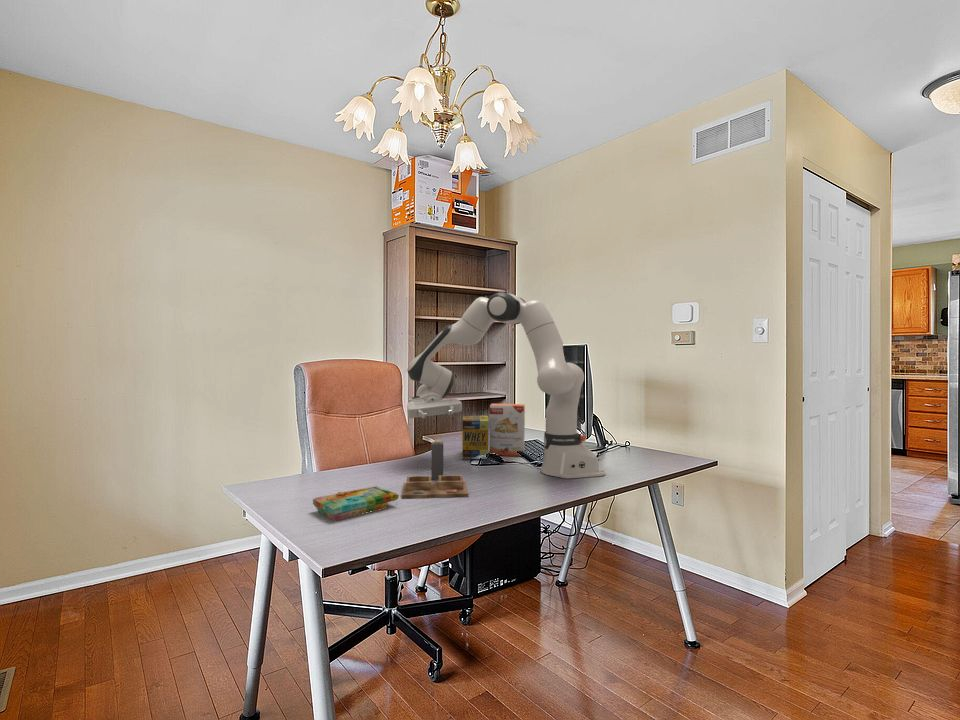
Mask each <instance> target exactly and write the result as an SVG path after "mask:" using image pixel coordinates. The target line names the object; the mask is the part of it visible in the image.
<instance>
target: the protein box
mask: <svg viewBox="0 0 960 720" xmlns="http://www.w3.org/2000/svg"><path fill="white" fill-rule="evenodd" d="M461 432H462V433H461V435H462V439H461V440H462V441H461V442H462V448H461V449H462V454H461V456H462V458H461V459H462V460H465V459H472V458H474V457H476V456H478V455H482V454H488V455H489V440H490V420H489V416H488V415H472V414H471V415H463V416H462V431H461Z"/></svg>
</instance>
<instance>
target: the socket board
mask: <svg viewBox="0 0 960 720" xmlns="http://www.w3.org/2000/svg"><path fill="white" fill-rule="evenodd" d="M469 493H470V492H469V490H468V487H467V483H466V481H465V480H464V478H463V475H462V474H454V475H453V474H452V475H447V474H446V475H444V474H443V475H442V476H439V479H438V481H432V477H431V475H409V476H408V475H407V476H406V481H405V482H403V485H402V490H401V496H400V497H401V498H402V499H430V498H429V497H442V498H468V497H469ZM401 498H400V499H401Z"/></svg>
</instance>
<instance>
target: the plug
mask: <svg viewBox="0 0 960 720" xmlns="http://www.w3.org/2000/svg"><path fill="white" fill-rule="evenodd" d="M430 446H431V458H430V459H431V475H430V476H432V477H431V480H439V476H442V475H444V441H441V440H439V439H435V440H434V441H431V445H430Z"/></svg>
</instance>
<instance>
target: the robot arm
mask: <svg viewBox="0 0 960 720" xmlns="http://www.w3.org/2000/svg"><path fill="white" fill-rule="evenodd" d="M495 322H498V323H499V322H500V323H503V324H505V325H520V324H521V326H522V327H523V330H524V332H525V335H526V338H527V339H528V342H529V345H530V348H531V349H532V352H533V355H534V360H535V363H536V368H537V377H536V384H537V387H538V388H539V389H540V390H541V392H543V393H544V394H547V395H550V398H549V401H548V405H547V407H546V409H545V431H544V433H543V434H544V436H543V446H544V447H543V448H544V451H543V452H544V453H543V460H542V461H543V462H542V465H541V468H540V472H541V474H545V475H547V476H552V477H558V478H562V479H579V478H591V477H593V478H594V477H603V476H606V470H605V469H604V468H602V467H601V466H599V460H598V457H597V454H595V453H594V452H593V451H592V450H591V449H590V448H588V447H587V446H586V445H584V444H583V442H586V441H587V437H586V436H585V435H583V434H580V433H579V432H578V430H577V429H578V407H579V403H580V399H581V398H580V397H581V396H580V395H581V392H582V391H581V390H582V386H583V383H584V382H585V373H584V371H583V369H582V368H581V367H580V366H578V365H577V364H575V363H572V362H567V361H566V357H565V355H564V342H563V341H564V340H562V337H561V335H560V333H559V330H558V327H557V325H556V323H555V321H554V318H553V316H552V315H551V313H550V311H549V310H548V308H547V306H546V305H545V304H544V303H543V302H542V300H539V299H531V300H529V301H525V299H523V298H522V297H519V296H517V295H515V294H512V293H509V292H504V291H501V292H495V293H494V294H491V296H490V297H489V298H488V297H484V296H480V297H477V298H476V299H475V300H474V301H473V302H472V303H471V304H470V305H469V306H468V308H466V310H465V312H464V313H463V315H462V316H461V318H460V319H459V320H458V321H456V322H455V323H453V324H447V325H445V326H444V327H443V328H442V329H441V330H440V331H439V332H438V333H437V334H436V335H435V336H434V337H433V338H432V339H431V341H430V342H429V343H428V344H427V345H426V346H425V347H424V348H423V349H422V350H421V351H420V353H419V354H417V355H416V356H415V357H414V358H412V360H411V361H410V362H409V365H408V367H407V370H406V371H407V373H408V376H409V378H410V380H411V381H414V382H416V383H419V384H420V386H419V387H418V388H417V390H416V393H415V396H413V397H412V396H411V397H409V398H408V402H407V405H406V411H407V417H408V419H415V418H422V419H427V418H428V417H433V416H439V415H448V416H454V413H460V412H462V411H463V402H462V401H461V400H459V399H458V398H445V397H447V396H448V394H450V392H451V390H452V389H453V387H454V384H455V383H454V382H455V381H454V380H455V379H454V373H453V371H452V370H449V369H448V368H446V367H445V366H442V365H440V364H438V363H437V362H434V361H433V360H431V359H432V358H434V356H435V355H436V354H437V353H438V352H439V351H440V349H442V347H445V345H459V346H473V345H477V344H478V343H479V342H480V341H482V339H483V338H484V337H485V335H486V333H487V332H488V330H489V329H490V327H491V326H492V325H493V324H494V323H495ZM443 398H444V399H443Z"/></svg>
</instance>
